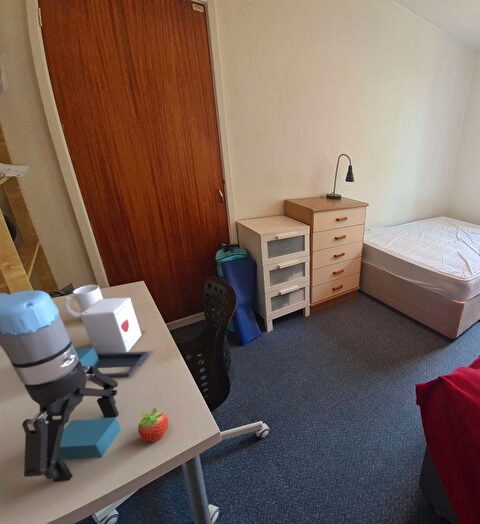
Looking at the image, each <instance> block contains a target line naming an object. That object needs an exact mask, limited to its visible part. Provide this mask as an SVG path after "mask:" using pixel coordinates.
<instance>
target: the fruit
mask: <svg viewBox="0 0 480 524" xmlns="http://www.w3.org/2000/svg"><path fill="white" fill-rule="evenodd" d="M141 416H142V419H141V421H140V422H138V423H136V424H137V425H138V427H137V430H138V434H139V436H140V437H141V438H142V439H143V440H145V441H147V442H157V441H160V440H161V439H163V438H164V436H165V434H166V433H167V431H168V427H169V419H168V416H167V415H166V414H165V413H162V412H158V411H157V409H156V406H154V407H153V409H152V410H151V413H147V412H146V413H145V412H143V411H141Z"/></svg>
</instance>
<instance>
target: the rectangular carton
mask: <svg viewBox="0 0 480 524" xmlns="http://www.w3.org/2000/svg"><path fill="white" fill-rule="evenodd" d="M79 317H80V318H81V321H82V324H83V326H84V329H85V332H86V333H87V336H88V339H89V341H90V344H91V346H92V347H91V348H94V349H95V351H96V354H99V353H127V352H130V350H131V349H132V347H133V346H134V345H135V344H136V343H137V342H138V340H140V338H141V336H142V332H141V329H140V326H139V322H138V319H137V316H136V313H135V309H134V307H133V303H132V300H131V297H118V298H117V297H115V298H103V299H99V300H98V301H97V302H96V303H94V304H93V305H91V306H90V307H89V308H88V309H87V310H85V311H84V312H83V313H81V314H80V316H79Z"/></svg>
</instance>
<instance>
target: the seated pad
mask: <svg viewBox="0 0 480 524" xmlns="http://www.w3.org/2000/svg"><path fill="white" fill-rule="evenodd" d="M74 349H75V351H76V353H77V356H78V359H79V361H80V362H81V364H82V366H95V365H96V364H97V363H98V362H99V359H98V356H97V354H96V351H95V349H94V348H93V347H74Z"/></svg>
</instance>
